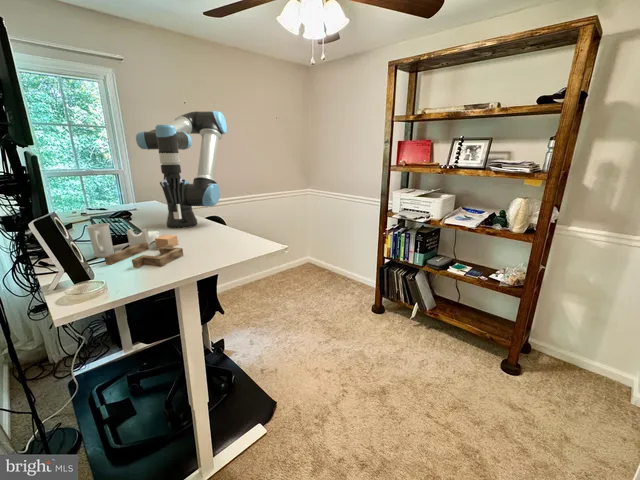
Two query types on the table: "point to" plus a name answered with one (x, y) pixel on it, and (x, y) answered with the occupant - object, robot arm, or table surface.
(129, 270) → the table surface
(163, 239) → the block
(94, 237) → the mug
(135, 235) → the bracket
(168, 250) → the brown wooden puzzle piece
